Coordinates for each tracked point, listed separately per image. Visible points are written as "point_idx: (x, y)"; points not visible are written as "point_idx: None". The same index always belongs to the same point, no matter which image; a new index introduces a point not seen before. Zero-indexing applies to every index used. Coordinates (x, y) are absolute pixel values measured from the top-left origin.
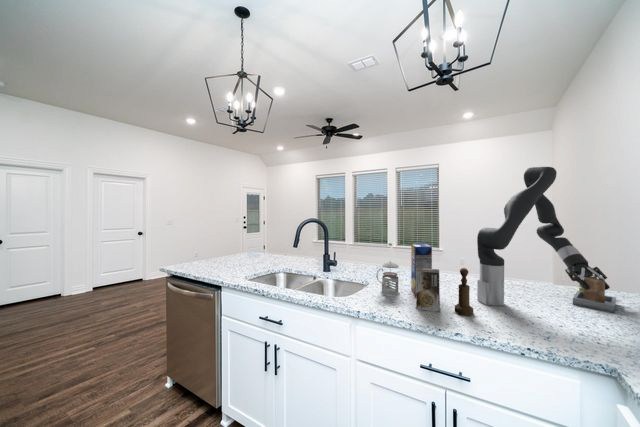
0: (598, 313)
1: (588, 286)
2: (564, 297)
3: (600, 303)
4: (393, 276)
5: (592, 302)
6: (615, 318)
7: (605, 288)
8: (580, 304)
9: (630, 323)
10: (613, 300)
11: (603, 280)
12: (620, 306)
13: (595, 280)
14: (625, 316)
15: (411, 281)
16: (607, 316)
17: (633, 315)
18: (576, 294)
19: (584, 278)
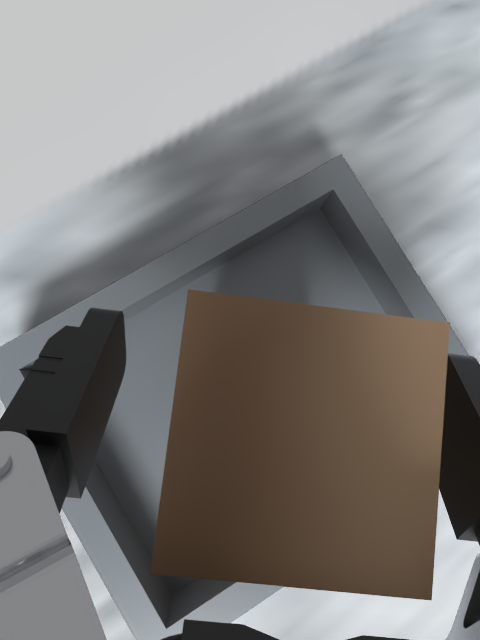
0: (462, 204)
1: (474, 367)
2: (320, 632)
3: (391, 239)
4: None
5: (419, 292)
6: (444, 102)
7: (120, 356)
8: None
9: (442, 15)
10: (152, 276)
11: (211, 304)
12: (52, 303)
13: (404, 341)
14: (315, 115)
15: None
16: (460, 143)
17: (221, 118)
18: None
19: (428, 578)
